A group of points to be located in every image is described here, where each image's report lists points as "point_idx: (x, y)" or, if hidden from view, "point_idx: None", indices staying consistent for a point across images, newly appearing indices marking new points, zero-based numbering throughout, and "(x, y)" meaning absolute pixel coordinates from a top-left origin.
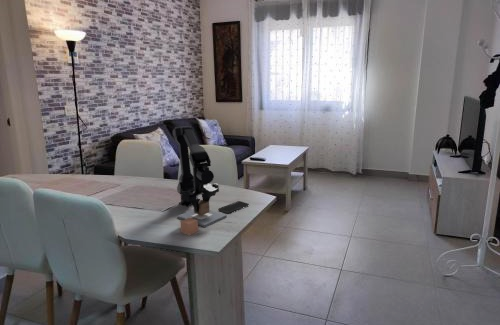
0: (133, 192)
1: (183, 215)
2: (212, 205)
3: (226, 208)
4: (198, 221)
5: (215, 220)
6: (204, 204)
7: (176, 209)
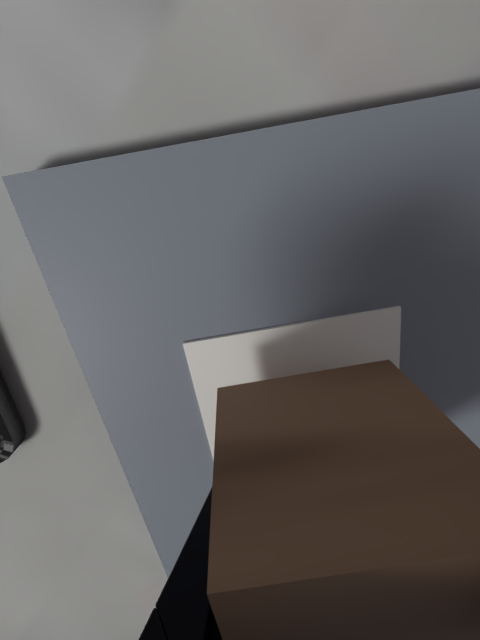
0: None
1: None
2: (21, 562)
3: None
4: (475, 281)
5: (281, 126)
6: (406, 531)
7: None
